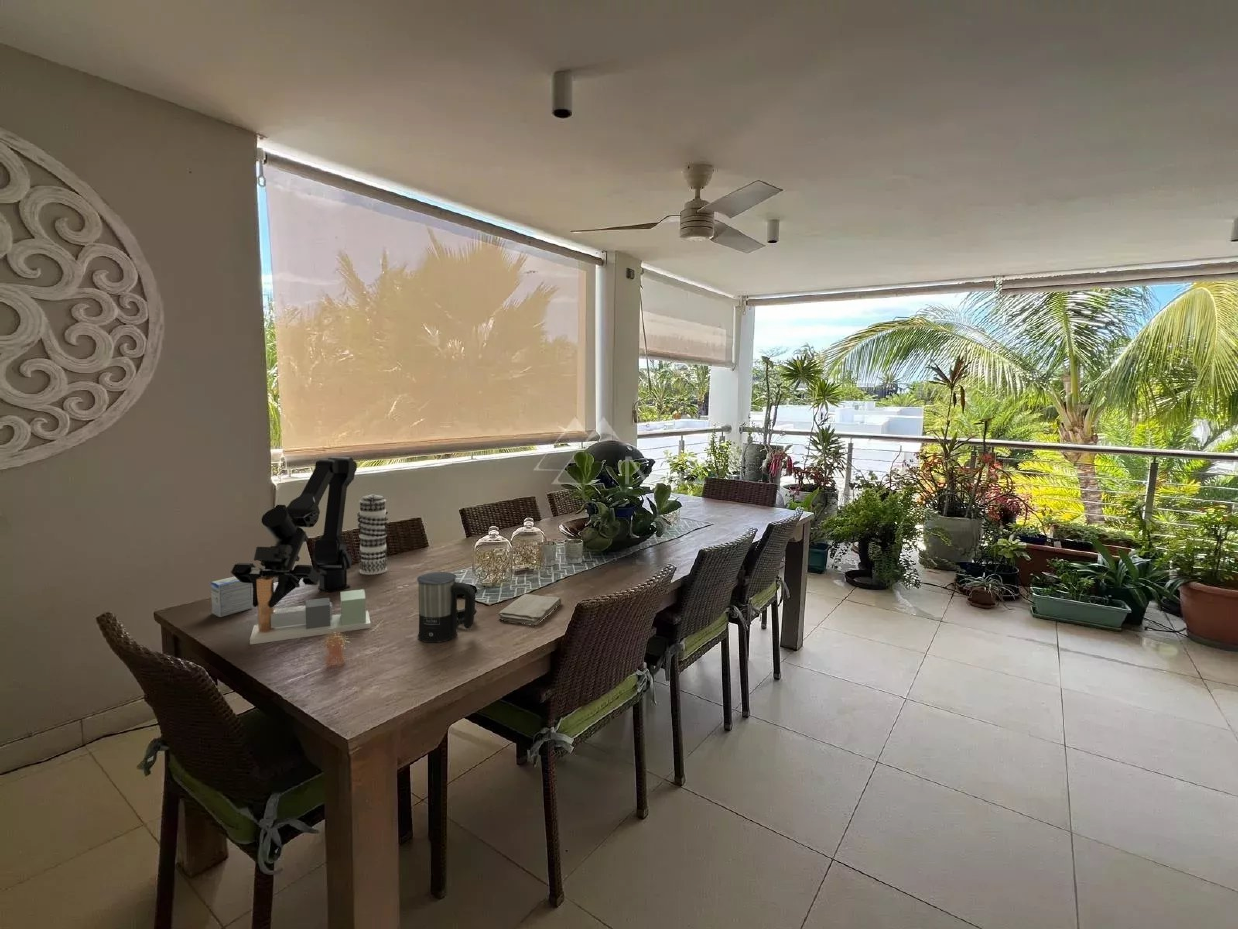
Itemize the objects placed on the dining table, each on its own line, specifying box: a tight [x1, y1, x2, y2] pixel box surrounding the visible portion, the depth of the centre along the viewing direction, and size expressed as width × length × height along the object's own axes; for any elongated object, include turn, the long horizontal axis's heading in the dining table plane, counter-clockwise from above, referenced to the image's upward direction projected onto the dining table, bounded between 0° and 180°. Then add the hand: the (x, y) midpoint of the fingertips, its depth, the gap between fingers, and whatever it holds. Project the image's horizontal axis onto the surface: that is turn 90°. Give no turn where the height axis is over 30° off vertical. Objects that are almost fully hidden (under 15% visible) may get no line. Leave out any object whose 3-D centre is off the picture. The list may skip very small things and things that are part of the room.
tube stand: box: [249, 597, 372, 645], centre depth 140 cm, size 26×9×7 cm, turn 117°
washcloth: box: [497, 593, 562, 626], centre depth 157 cm, size 12×18×3 cm, turn 166°
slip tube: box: [256, 576, 333, 631], centre depth 138 cm, size 16×3×12 cm, turn 117°
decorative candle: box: [356, 494, 389, 575], centre depth 186 cm, size 9×9×25 cm
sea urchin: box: [313, 630, 357, 669], centre depth 122 cm, size 12×12×8 cm
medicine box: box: [210, 575, 253, 618], centre depth 149 cm, size 8×4×9 cm, turn 149°
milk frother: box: [416, 571, 477, 644], centre depth 142 cm, size 14×16×15 cm
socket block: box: [339, 588, 367, 625], centre depth 144 cm, size 6×7×6 cm
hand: (262, 606), depth 134 cm, fingers closed on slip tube, 3 cm apart
